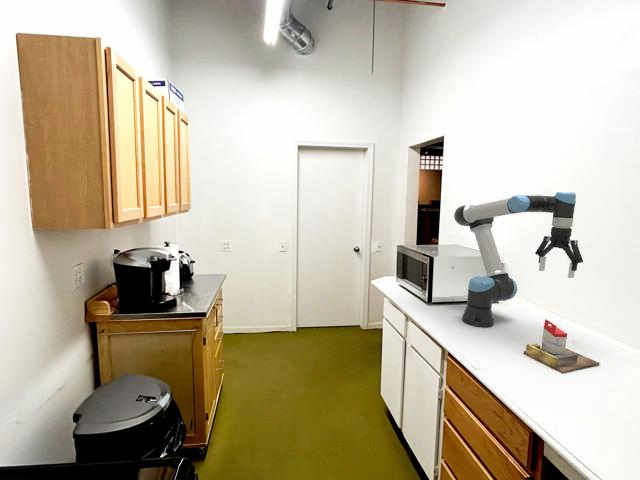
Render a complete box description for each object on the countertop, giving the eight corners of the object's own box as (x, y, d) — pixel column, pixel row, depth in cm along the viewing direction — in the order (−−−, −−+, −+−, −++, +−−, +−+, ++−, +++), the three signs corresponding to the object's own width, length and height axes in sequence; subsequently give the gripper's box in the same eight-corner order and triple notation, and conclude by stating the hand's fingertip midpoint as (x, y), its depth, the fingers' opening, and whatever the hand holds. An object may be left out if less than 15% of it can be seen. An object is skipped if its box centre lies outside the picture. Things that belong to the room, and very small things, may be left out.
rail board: (523, 353, 150) (524, 343, 149) (558, 347, 157) (559, 337, 157) (562, 373, 134) (564, 362, 134) (599, 365, 142) (601, 354, 141)
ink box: (564, 361, 142) (569, 326, 140) (551, 361, 142) (556, 326, 140) (552, 351, 150) (556, 318, 148) (539, 351, 150) (544, 318, 148)
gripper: (530, 224, 166) (525, 268, 170) (585, 230, 143) (578, 281, 146) (541, 224, 169) (536, 267, 172) (597, 230, 146) (590, 280, 149)
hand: (555, 274), depth 159 cm, fingers open, 13 cm apart
